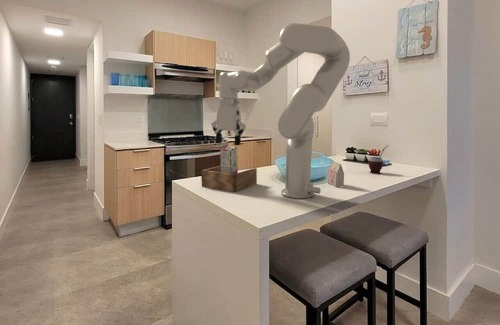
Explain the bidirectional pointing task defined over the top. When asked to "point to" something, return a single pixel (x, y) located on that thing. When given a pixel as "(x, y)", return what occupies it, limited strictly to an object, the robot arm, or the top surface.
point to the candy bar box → (229, 160)
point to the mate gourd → (376, 163)
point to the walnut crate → (228, 179)
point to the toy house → (336, 175)
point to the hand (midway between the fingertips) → (228, 143)
